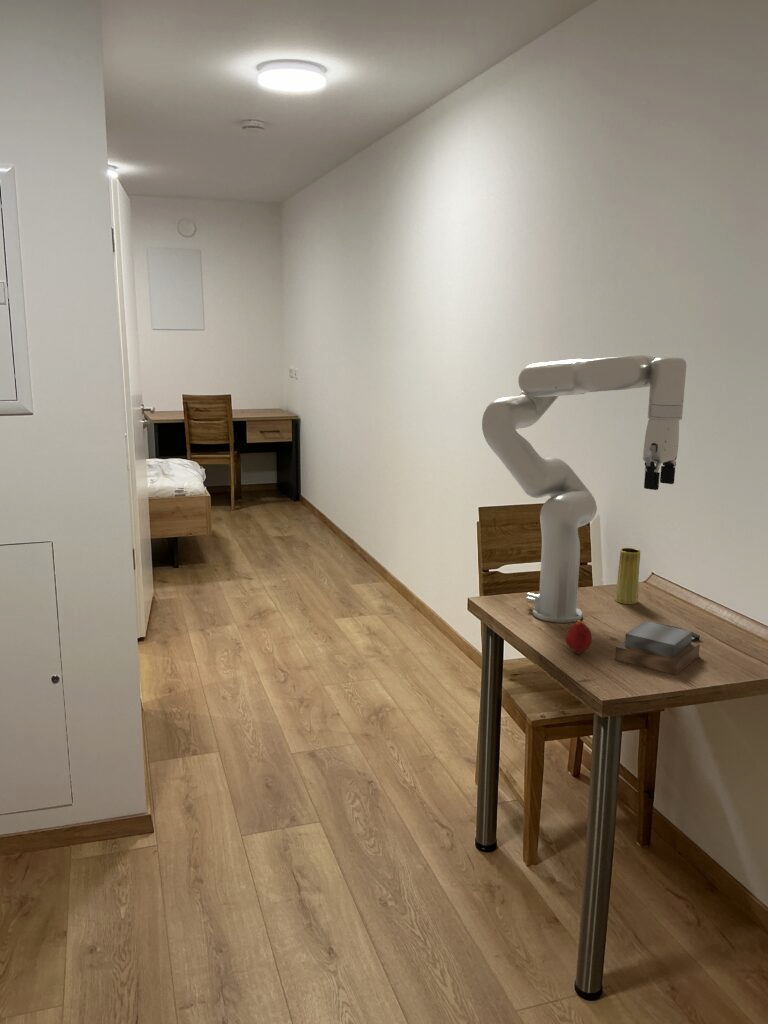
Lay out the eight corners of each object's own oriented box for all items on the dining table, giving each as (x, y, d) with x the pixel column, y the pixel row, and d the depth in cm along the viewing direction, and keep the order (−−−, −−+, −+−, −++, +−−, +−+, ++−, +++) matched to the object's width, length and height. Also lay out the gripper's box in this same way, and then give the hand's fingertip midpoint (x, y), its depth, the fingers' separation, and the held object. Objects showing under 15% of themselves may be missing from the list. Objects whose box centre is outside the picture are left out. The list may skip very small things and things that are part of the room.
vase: (642, 603, 235) (646, 552, 232) (621, 605, 233) (625, 553, 230) (631, 596, 241) (634, 546, 238) (610, 598, 239) (614, 547, 236)
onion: (585, 648, 202) (587, 615, 200) (594, 657, 196) (597, 623, 195) (561, 649, 201) (563, 616, 200) (570, 658, 196) (572, 624, 194)
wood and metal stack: (614, 659, 196) (616, 633, 194) (639, 642, 206) (641, 617, 205) (676, 675, 187) (678, 648, 186) (698, 656, 198) (701, 631, 197)
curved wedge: (659, 624, 220) (659, 618, 220) (701, 642, 209) (702, 635, 208) (634, 629, 216) (635, 623, 216) (676, 647, 205) (676, 641, 204)
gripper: (663, 408, 208) (657, 479, 211) (634, 413, 194) (628, 489, 198) (694, 410, 203) (688, 483, 207) (667, 416, 190) (661, 493, 194)
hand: (659, 486), depth 202 cm, fingers open, 9 cm apart
